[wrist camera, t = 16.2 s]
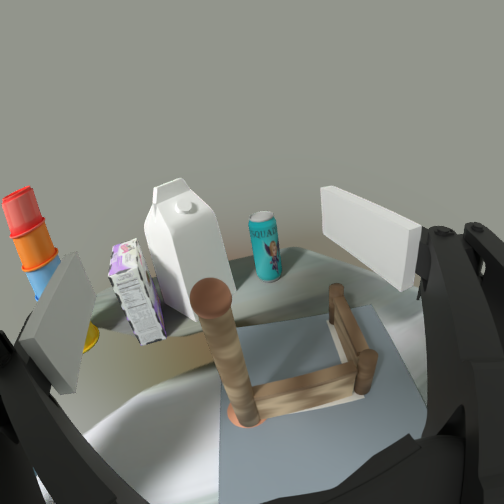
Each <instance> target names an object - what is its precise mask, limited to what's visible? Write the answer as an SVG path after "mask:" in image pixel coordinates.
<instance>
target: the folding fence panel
mask: <svg viewBox="0 0 504 504" xmlns="http://www.w3.org/2000/svg"><path fill="white" fill-rule="evenodd" d="M189 299H190V305H191V307H192V309H193V311H194V312H195V313H196V314H197V315H198V318H199V321H200V323H201V326H202V329H203V332H204V335H205V337H206V340H207V343H208V346H209V349H210V351H211V354H212V356H213V359H214V362H215V365H216V367H217V370H218V372H219V375H220V378H221V380H222V383H223V385H224V388H225V390H226V393H227V395H228V398H229V400H230V402H231V405H232V407H233V410H234V412H235V414H236V417H237V419H238V421H239V423H240V424H241V425H242V426H244V427H253V426H255V425H257V424H258V423H259V421H260V420H262V419H267V418H272V417H276V416H281V415H285V414H289V413H293V412H298V411H301V410H305V409H309V408H313V407H316V406H320V405H323V404H327V403H330V402H333V401H336V400H340V399H343V398H346V397H349V396H352V392H353V387H354V382H355V377H356V375H357V372H358V370H357V368H356V366H355V364H354V363H353V361H349V362H346V363H343V364H339V365H336V366H333V367H329V368H326V369H322V370H319V371H315V372H312V373H308V374H304V375H300V376H296V377H292V378H288V379H284V380H280V381H275V382H271V383H266V384H261V385H256V386H252V385H251V382H250V378H249V374H248V371H247V367H246V363H245V360H244V356H243V352H242V348H241V345H240V341H239V337H238V333H237V329H236V325H235V322H234V318H233V314H232V310H231V302H232V295H231V292H230V289H229V287H228V286H227V285H226V284H225V283H224V282H223V281H221V280H219V279H217V278H204V279H201V280H200V281H198V282H197V283H196V284H195V285H194V286H193V288H192V289H191V292H190V298H189Z"/></svg>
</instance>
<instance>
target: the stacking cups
mask: <svg viewBox="0 0 504 504" xmlns="http://www.w3.org/2000/svg"><path fill="white" fill-rule="evenodd" d="M9 196H10V197H9ZM2 207H3V210H4V213H5V216H6V220H7V223H8V226H9V229H10V231H11V234H10V238H12V239H13V241H14V243H15V246H16V249H17V252H18V254H19V257H20V259H21V262H22V264H23V265H22V270H23V271H24V272H26V274H27V277H28V279H29V281H30V283H31V285H32V288H33V290H34V292H35V299H36V301H37V302H38V300H39V298H40V296H41V295H42V293H43V291H44V289H45V287H46V286H47V284H48V282H49V280H50V279H51V277H52V275H53V274H54V272H55V270H56V269H57V267H58V265H59V264H60V262H61V261H60V258H59V256H58V249H57V248H55V247H54V246H53V243H52V241H51V238H50V235H49V233H48V230H47V227H46V224H45V222H44V221H45V218H44V217H42V216H41V213H40V210H39V207H38V204H37V201H36V198H35V195H34V191H33V189H32V188H30V186H26V187H24V188H22V189H19V190H17V191H15V192H13V193H11V194H10V195H8V196H6V197H5V198H3V203H2ZM98 339H99V330H98V328H97V327H96V326H95V325H93V324H92V323H91V321H90V323H89V327H88V331H87V336H86V340H85V345H84V349H83V353H85V352H87V351H89V350H90V349H91V348H92V347H93V346H94V345H95V344H96V343H97V341H98Z"/></svg>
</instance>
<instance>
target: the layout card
mask: <svg viewBox="0 0 504 504" xmlns="http://www.w3.org/2000/svg"><path fill="white" fill-rule="evenodd" d="M351 311H352V313H353V315H354V317H355V319H356V321H357V323H358V326H359V328H360V330H361V332H362V334H363V336H364V338H365V340H366V342H367V344H368V347H369V349H373V350H375V351H376V352H377V353H378V360H377V364H376V369H375V373H374V377H373V380H372V384H371V388H370V391H369V392H368V393H367V394H365V395H358V394H356V393H355V391H354V387H353V392H352V396H349V397H346V398H343V399H340V400H336V401H333V402H330V403H327V404H323V405H320V406H316V407H313V408H309V409H305V410H301V411H298V412H293V413H289V414H285V415H281V416H276V417H272V418H267V419H262V420H260V421H259V423H258V424H257V425H255V426H253V427H244V426H242V425H241V424H240V423H239V421H238V419H237V417H236V414H235V412H234V410H233V407H232V405H231V402H230V400H229V398H228V395H227V393H226V390H225V388H224V385H223V383H222V380H221V408H220V443H219V504H260V503H264V502H267V501H270V500H273V499H276V498H279V497H288V496H295V495H302V494H308V493H313V492H319V491H324V490H328V489H332V488H334V487H336V486H338V485H339V484H340V483H341V482H343V481H344V480H345V479H346V478H348V477H349V476H350V475H351V474H352V473H354V472H355V471H356V470H357V469H358V468H360V467H361V466H362V465H363V464H364V463H365V462H366V461H367V460H369V459H370V458H371V457H372V456H373V455H375V454H377V453H378V452H380V451H382V450H383V449H385V448H387V447H388V446H390V445H391V444H393V443H395V442H396V441H398V440H399V439H401V438H402V437H404V436H405V435H407V434H408V433H409V434H410V435H411V436H412V437H413V439H414V440H415V439H419V438H421V436H422V432H423V430H424V427H425V424H426V419H427V408H426V406H425V403H424V401H423V399H422V397H421V395H420V393H419V391H418V389H417V387H416V385H415V383H414V381H413V379H412V377H411V375H410V373H409V371H408V370H407V368H406V366H405V364H404V362H403V360H402V358H401V356H400V354H399V353H398V351H397V349H396V347H395V345H394V343H393V342H392V340H391V338H390V336H389V334H388V333H387V331H386V329H385V327H384V326H383V324H382V322H381V320H380V319H379V317H378V315H377V314H376V312H375V310H374V308H373V307H372V305H371V304H370V305H365V306H361V307H356V308H351ZM236 329H237V333H238V337H239V341H240V345H241V348H242V352H243V356H244V360H245V363H246V367H247V371H248V374H249V378H250V382H251V385H252V386H256V385H261V384H266V383H271V382H275V381H280V380H284V379H288V378H292V377H296V376H300V375H304V374H308V373H312V372H315V371H319V370H322V369H326V368H329V367H333V366H336V365H339V364H343V363H346V362H348V361H347V358H346V355H345V353H344V350H343V347H342V345H341V342H340V340H339V337H338V334H337V332H336V329H335V327H334V325H332V324H330V323H329V313H326V314H321V315H316V316H310V317H304V318H299V319H293V320H287V321H280V322H274V323H267V324H261V325H254V326H247V327H239V328H236ZM354 384H355V382H354Z"/></svg>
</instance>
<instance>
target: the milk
mask: <svg viewBox="0 0 504 504" xmlns="http://www.w3.org/2000/svg"><path fill="white" fill-rule="evenodd" d="M144 230H145V235H146V239H147V242H148V247H149V250H150V254H151V258H152V262H153V265H154V268H155V272H156V276H157V279H158V283H159V286H160V289H161V293H162V296H163V299H164V302H165V304H167V305H169V306H170V307H172V308H174V309H175V310H177V311H179V312H180V313H182V314H184V315H185V316H187V317H189V318H190V319H192V320H194V321H196V322H197V321H198V320H199V318H198V315H197V314H196V313H195V312H194V311H193V309H192V307H191V305H190V299H189V298H190V292H191V289H192V288H193V286H194V285H195V284H196V283H197V282H198V281H200V280H201V279H204V278H217V279H219V280H221V281H223V282H224V283H225V284H226V285H227V286H228V287H229V289H230V292H231V295H232V294H234V293H235V292H236V291H237V290H236V287H235V283H234V280H233V276H232V273H231V269H230V266H229V262H228V258H227V255H226V251H225V247H224V244H223V240H222V236H221V233H220V229H219V225H218V221H217V218H216V215H215V213H214V211H213V210H212V209H211V208H210V207H209V206H208V205H207V204H206V203H205V202H204V201H203V200H202V199H201V198H200V197H198V196H197V195H196V194H195V193H194V192H193V191H192V190H190V188H189V186H188V185H187V183H186V182H185V181H184V180H183V178H178V179H175V180H173V181H170V182H167V183H165V184H162V185H160V186H157V187H155V188H154V192H153V205H152V207H151V209H150V211H149V214H148V216H147V218H146V221H145V224H144Z"/></svg>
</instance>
